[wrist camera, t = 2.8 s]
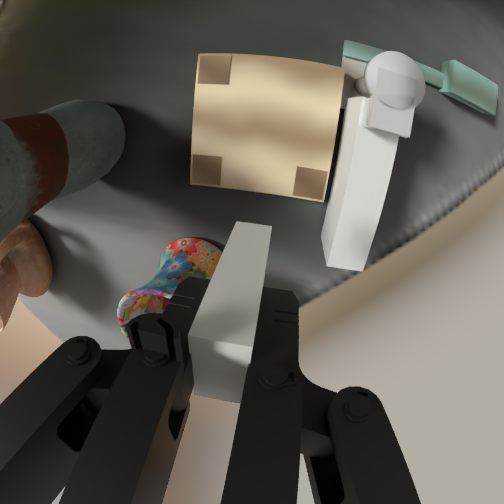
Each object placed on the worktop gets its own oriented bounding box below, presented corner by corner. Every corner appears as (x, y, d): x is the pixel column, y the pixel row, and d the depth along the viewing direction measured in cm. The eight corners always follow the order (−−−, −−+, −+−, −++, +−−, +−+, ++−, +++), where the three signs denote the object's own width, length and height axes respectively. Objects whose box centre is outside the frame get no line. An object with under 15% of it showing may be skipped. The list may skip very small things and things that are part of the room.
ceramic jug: (43, 298, 40) (0, 349, 28) (-1, 240, 35) (-50, 282, 22) (80, 252, 33) (17, 317, 21) (25, 177, 28) (-48, 219, 16)
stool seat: (210, 15, 18) (184, -10, 12) (485, 84, 16) (527, 88, 10) (196, 178, 26) (168, 203, 20) (454, 224, 25) (486, 257, 18)
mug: (212, 217, 28) (175, 277, 19) (251, 287, 32) (236, 360, 23) (130, 254, 32) (83, 309, 23) (170, 311, 36) (139, 372, 26)
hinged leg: (346, 61, 18) (370, 43, 12) (389, 72, 18) (427, 63, 12) (316, 235, 27) (324, 282, 20) (354, 241, 27) (372, 288, 20)
